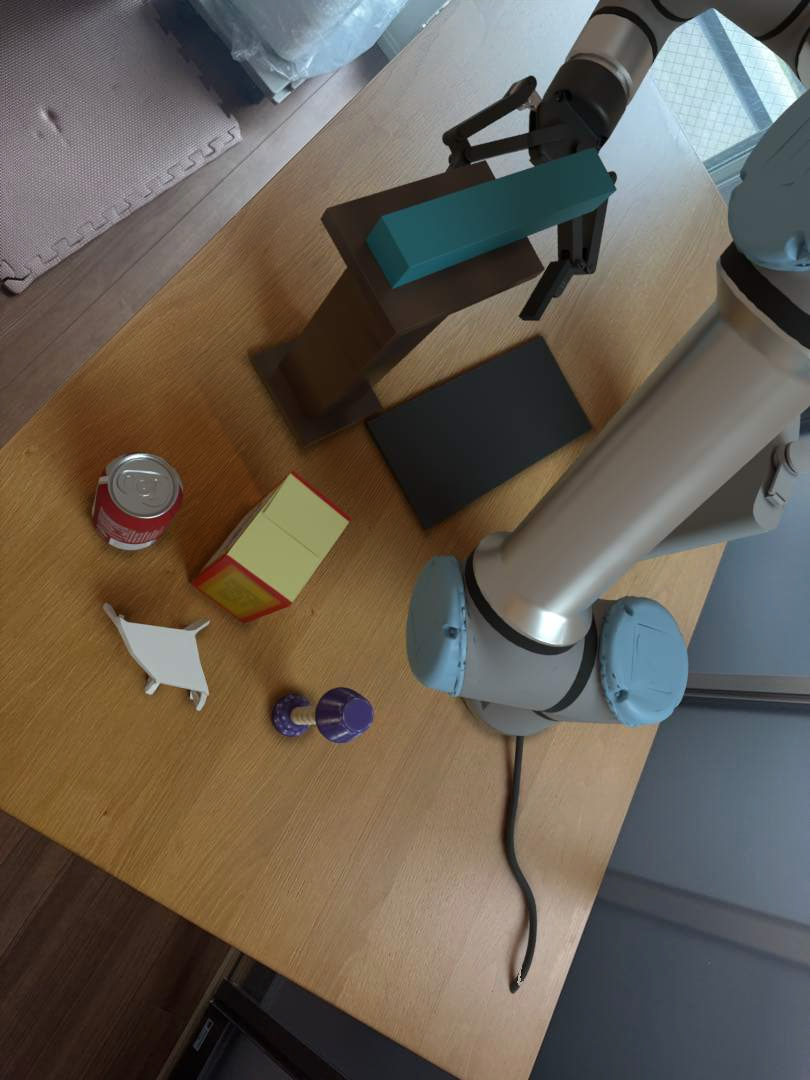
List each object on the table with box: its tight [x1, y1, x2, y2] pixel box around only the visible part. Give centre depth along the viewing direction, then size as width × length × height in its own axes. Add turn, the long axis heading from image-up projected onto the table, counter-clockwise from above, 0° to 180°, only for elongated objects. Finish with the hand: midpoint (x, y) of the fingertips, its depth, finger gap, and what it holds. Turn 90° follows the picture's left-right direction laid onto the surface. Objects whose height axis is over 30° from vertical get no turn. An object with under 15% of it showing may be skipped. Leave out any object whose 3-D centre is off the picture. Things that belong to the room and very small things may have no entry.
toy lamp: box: [270, 686, 375, 744], centre depth 66 cm, size 5×5×17 cm
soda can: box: [91, 451, 184, 552], centre depth 65 cm, size 7×7×12 cm
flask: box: [639, 414, 810, 562], centre depth 88 cm, size 17×5×25 cm, turn 156°
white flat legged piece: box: [102, 602, 211, 712], centre depth 66 cm, size 12×8×5 cm
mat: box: [364, 335, 593, 531], centre depth 90 cm, size 30×14×1 cm, turn 123°
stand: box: [249, 159, 546, 450], centre depth 68 cm, size 16×11×30 cm
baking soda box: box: [190, 469, 353, 625], centre depth 67 cm, size 10×6×16 cm
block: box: [365, 147, 618, 289], centre depth 56 cm, size 23×4×3 cm, turn 123°
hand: (482, 277), depth 70 cm, fingers open, 13 cm apart
